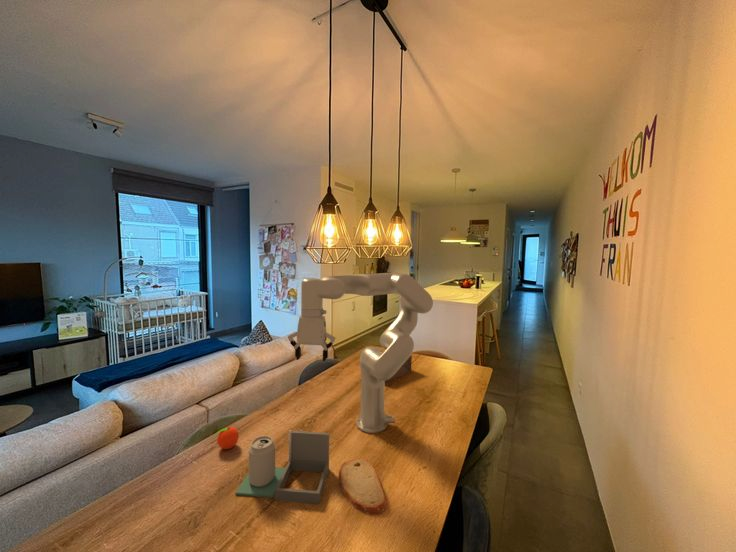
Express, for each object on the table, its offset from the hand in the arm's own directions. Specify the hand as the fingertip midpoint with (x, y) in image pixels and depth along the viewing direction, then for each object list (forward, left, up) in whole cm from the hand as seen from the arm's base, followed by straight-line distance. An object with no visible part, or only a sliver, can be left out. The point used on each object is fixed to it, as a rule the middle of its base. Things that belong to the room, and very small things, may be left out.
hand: (311, 359), depth 110 cm
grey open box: (-4, +22, -30) cm, 38 cm away
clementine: (+28, +8, -31) cm, 42 cm away
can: (+9, +22, -30) cm, 38 cm away
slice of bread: (-21, +20, -31) cm, 43 cm away
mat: (+9, +22, -30) cm, 39 cm away
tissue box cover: (-28, -64, -31) cm, 76 cm away
